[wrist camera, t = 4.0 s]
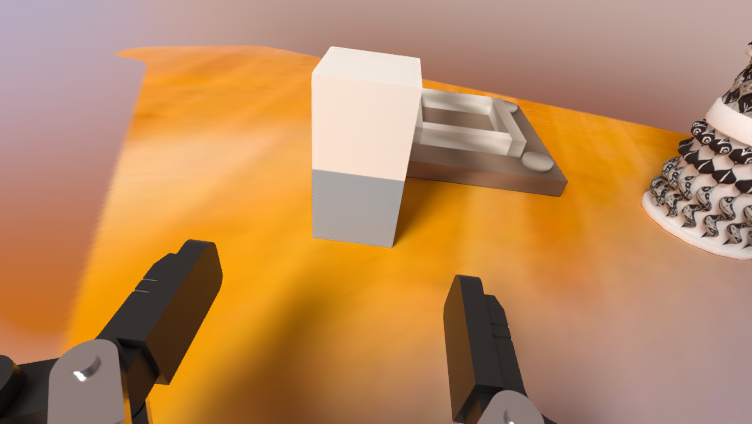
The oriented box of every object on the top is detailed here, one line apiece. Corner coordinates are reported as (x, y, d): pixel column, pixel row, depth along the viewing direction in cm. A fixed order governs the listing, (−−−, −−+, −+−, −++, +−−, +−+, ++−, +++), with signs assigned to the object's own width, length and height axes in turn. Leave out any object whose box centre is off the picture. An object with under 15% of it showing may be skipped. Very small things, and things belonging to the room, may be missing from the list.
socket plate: (513, 117, 41) (523, 92, 39) (559, 196, 29) (576, 165, 27) (378, 99, 41) (381, 73, 39) (365, 170, 29) (369, 137, 27)
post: (394, 200, 26) (419, 58, 20) (392, 247, 22) (422, 88, 16) (327, 191, 26) (331, 46, 20) (312, 237, 22) (311, 73, 16)
